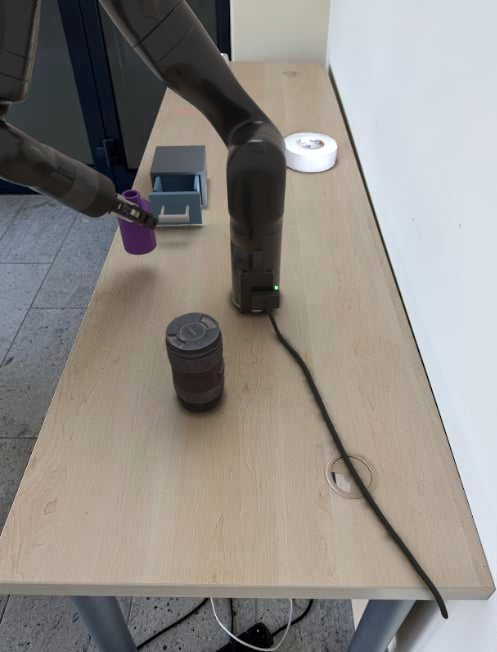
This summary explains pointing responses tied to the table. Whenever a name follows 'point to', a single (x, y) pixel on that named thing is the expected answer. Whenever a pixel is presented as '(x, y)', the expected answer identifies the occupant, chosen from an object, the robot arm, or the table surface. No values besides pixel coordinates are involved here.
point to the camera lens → (196, 360)
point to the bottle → (137, 228)
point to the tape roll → (310, 152)
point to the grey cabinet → (181, 164)
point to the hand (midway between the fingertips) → (141, 218)
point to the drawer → (176, 199)
